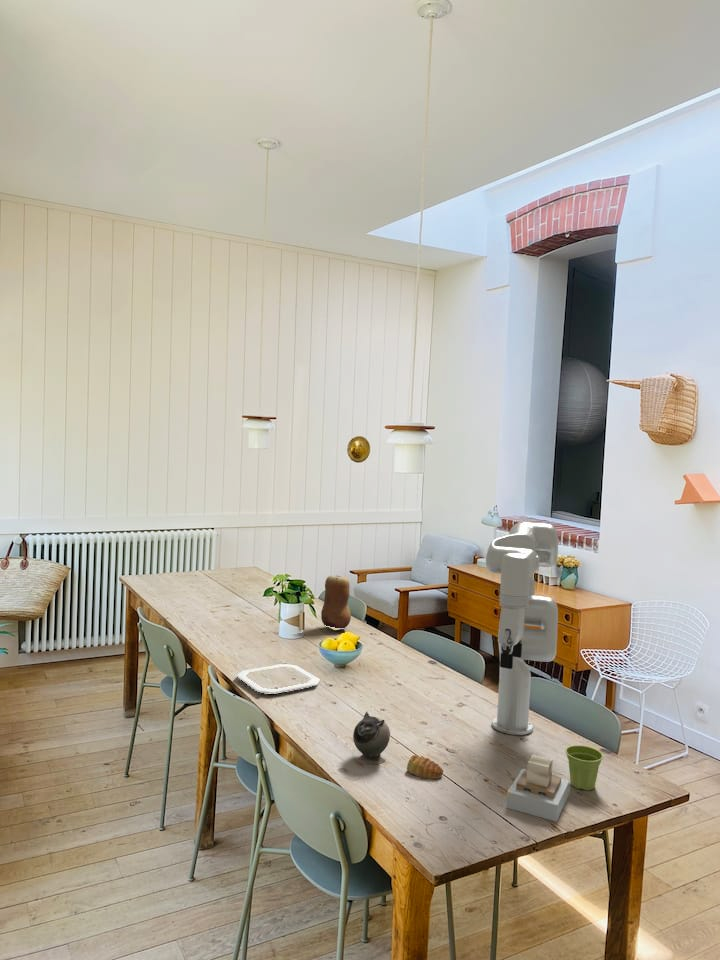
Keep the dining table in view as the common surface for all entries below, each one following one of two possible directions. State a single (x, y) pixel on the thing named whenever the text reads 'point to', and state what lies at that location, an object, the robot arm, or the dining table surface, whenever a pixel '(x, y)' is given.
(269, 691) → the white square frame
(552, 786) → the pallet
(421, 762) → the pastry
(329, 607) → the butternut squash
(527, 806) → the dock
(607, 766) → the dining table surface
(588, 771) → the plant pot
